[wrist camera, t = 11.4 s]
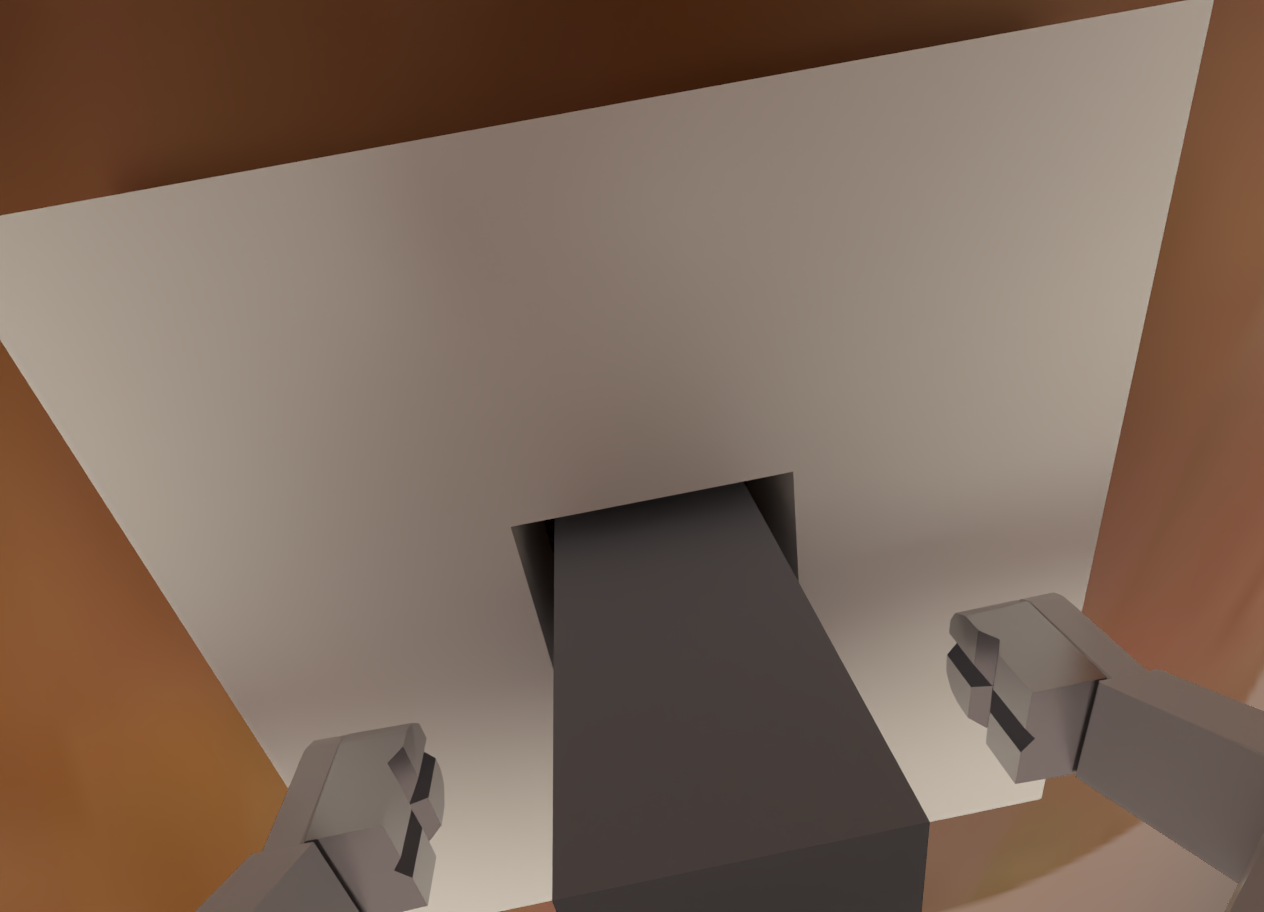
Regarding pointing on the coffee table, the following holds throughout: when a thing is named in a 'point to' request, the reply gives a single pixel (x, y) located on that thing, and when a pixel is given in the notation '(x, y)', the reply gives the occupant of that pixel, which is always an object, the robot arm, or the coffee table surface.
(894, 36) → the coffee table surface
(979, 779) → the socket block
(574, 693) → the square peg
